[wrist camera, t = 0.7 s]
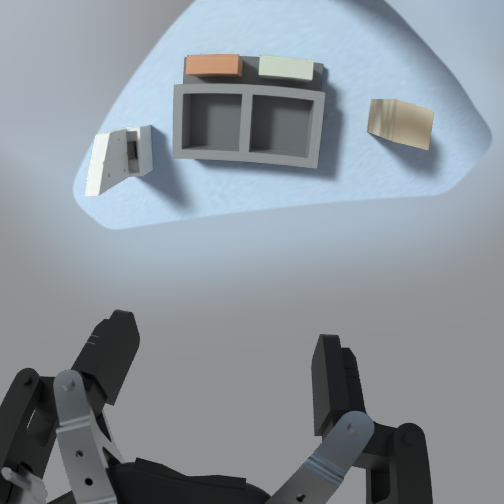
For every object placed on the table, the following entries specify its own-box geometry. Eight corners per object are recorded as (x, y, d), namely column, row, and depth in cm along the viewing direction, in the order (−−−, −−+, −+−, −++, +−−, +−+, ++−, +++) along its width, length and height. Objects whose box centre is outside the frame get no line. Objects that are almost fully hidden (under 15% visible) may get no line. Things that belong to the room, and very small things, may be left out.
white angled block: (123, 208, 34) (84, 196, 25) (134, 135, 34) (102, 107, 25) (148, 209, 34) (113, 195, 25) (158, 133, 34) (131, 102, 25)
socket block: (187, 58, 27) (172, 52, 22) (321, 65, 26) (329, 58, 22) (183, 151, 32) (169, 160, 28) (312, 161, 32) (318, 170, 27)
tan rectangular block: (370, 99, 27) (397, 99, 20) (401, 106, 27) (434, 110, 20) (366, 131, 29) (392, 141, 22) (397, 138, 29) (428, 150, 22)
